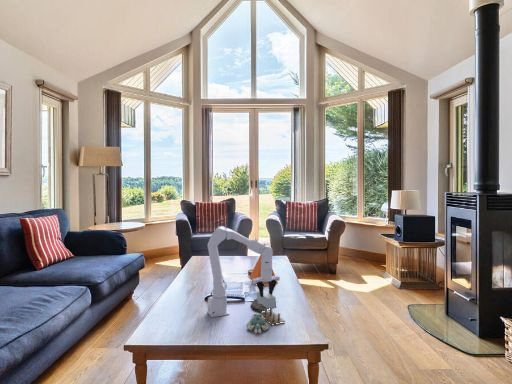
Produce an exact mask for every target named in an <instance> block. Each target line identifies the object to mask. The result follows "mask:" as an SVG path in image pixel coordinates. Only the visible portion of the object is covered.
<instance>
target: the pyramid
mask: <svg viewBox="0 0 512 384" xmlns="http://www.w3.org/2000/svg"><path fill="white" fill-rule="evenodd" d="M261 260H262V255H261V254H259V257H258V258H257V261H256V263H255V265H254V267H253V270H252V272H251V274H250V275H249V278H250V279H251V280H252V281H253V279H255V278H259V277H261ZM272 276H276V274H275V272H274V269H273V268H272ZM249 278H248V279H249ZM251 280H250V281H251ZM252 281H251V282H252ZM276 282H277V284H279V282H278V280H276ZM262 283H263V284H265V285H269V283H268V282H262Z"/></svg>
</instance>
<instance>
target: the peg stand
mask: <svg viewBox="0 0 512 384" xmlns="http://www.w3.org/2000/svg"><path fill="white" fill-rule="evenodd" d="M259 314H262V315H263V316H264V318H265V319H266V320H267V321H268V322H270V323H271V324H276V323H280V322H285V323H286V320H284V319H283V318H281V313H277V314H276V312H274V311H273V308H270V310H269V311H267V308H265V312H263V313H260V312H259ZM265 319H264V320H265ZM266 320H265V321H266ZM267 321H266V322H267ZM268 322H267V323H268ZM270 323H269V324H270ZM271 324H270V325H271Z"/></svg>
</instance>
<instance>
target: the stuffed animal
mask: <svg viewBox="0 0 512 384" xmlns="http://www.w3.org/2000/svg"><path fill="white" fill-rule="evenodd" d="M245 326H246V328H247V330H248V331H250V332H254V334H261V333H262V332H266V331H267V330H268V329H269V327H270V323H268V322H267V321H266V320H265V319H264V316H263V315H262V314H260V313H253V314H252V316H251V319H250V320H249V321H248V322H247V323H246V325H245ZM253 330H254V331H253ZM261 330H263V331H261Z"/></svg>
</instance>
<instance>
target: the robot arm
mask: <svg viewBox="0 0 512 384" xmlns="http://www.w3.org/2000/svg"><path fill="white" fill-rule="evenodd" d="M225 240H229V241H230V240H234V241H237V242H239V243H240V244H243V245H245V246H246V247H247V249H248V250H250V251H252V252H254V253H256V254H258V255H262V260H261V277H259V278H255V279H253V282H252V284H254V285H255V284H257V285H256V286H257V288H258V291H259V292H260V296H261V297H263V290H265V285H264V284H263V283H262V282H268V283H269V284H268V292H269V293H270V294H272V295H273V293H274V290H275V287H276V286H277V284H278V283H277V282H278V281H280V280H281V279H280V276H279V275H275V276H272V269H273V255H274V252H273V248H272V247H271V245H269V244H266V243H265V242H264V243H263V242H261V241H259V240H258V238H248V237H245V235H242V234H240V233H239V232H237V231H235V230H233V229H231V228H229V227H225V226H223V225H220V226H218V227H217V228H216V229H215V230H214V231H213V232H212V233H211V235H210V238H209V240H208V242H207V251H208V256H209V260H210V267H211V273H212V279H213V280H212V285H213V288H212V295H211V296H209V297H208V298H207V311H206V312H207V314H208V315H209V316H210V317H211V318H216V317H221V316H228V315H230V312H229V311H228V310H227V307H228V305H227V303H228V297H227V296H228V294H227V293H226V290H227V288H228V285H227V283H226V281H225V279H224V276H223V272H222V271H223V269H222V267H221V266H222V265H221V260H220V259H221V258H220V254H219V253H220V252H219V249H218V248H219V247H218V246H219V244H221V242H223V241H225ZM276 280H277V282H276Z"/></svg>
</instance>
